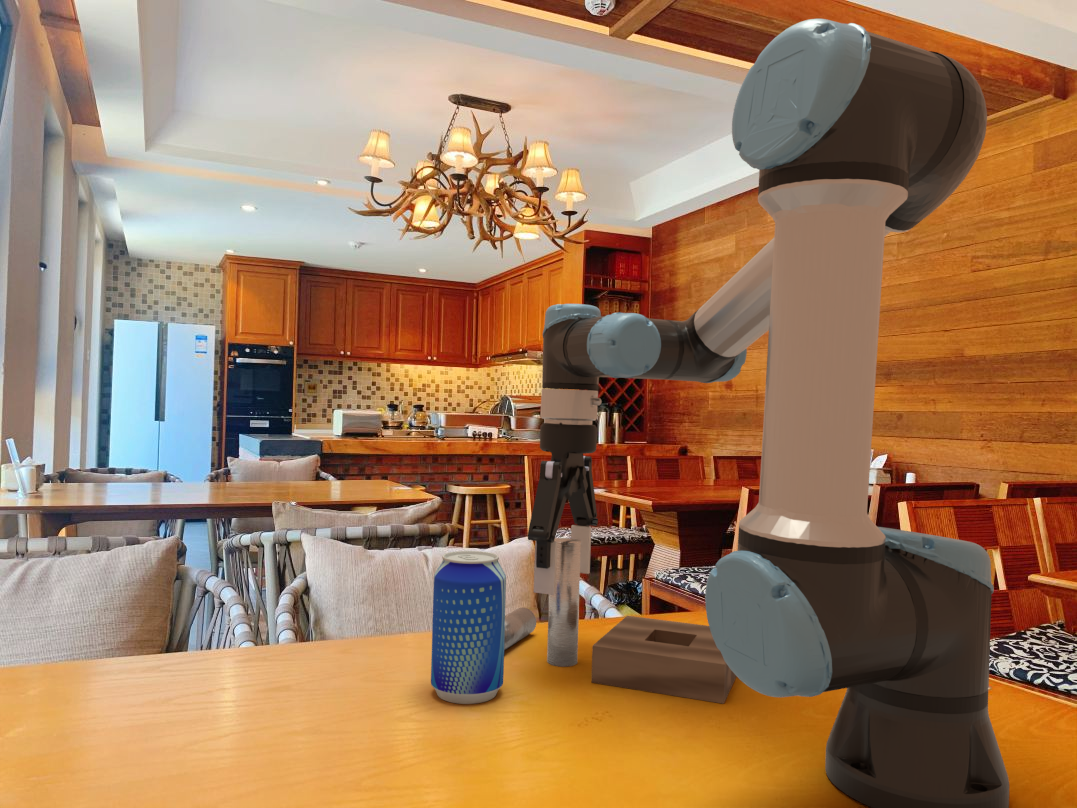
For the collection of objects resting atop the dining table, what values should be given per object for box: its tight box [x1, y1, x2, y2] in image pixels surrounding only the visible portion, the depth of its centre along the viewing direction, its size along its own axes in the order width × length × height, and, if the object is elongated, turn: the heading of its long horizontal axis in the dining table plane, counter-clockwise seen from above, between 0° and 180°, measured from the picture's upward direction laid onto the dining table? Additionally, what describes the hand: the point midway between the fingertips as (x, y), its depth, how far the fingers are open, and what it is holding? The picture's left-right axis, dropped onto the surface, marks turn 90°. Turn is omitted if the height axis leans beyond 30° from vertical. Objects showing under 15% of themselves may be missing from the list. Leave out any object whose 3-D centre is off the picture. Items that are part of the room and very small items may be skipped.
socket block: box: [591, 615, 737, 705], centre depth 103 cm, size 16×16×4 cm
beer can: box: [430, 550, 507, 705], centre depth 93 cm, size 8×8×16 cm
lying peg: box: [504, 607, 537, 651], centre depth 113 cm, size 12×4×4 cm
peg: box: [546, 537, 581, 667], centre depth 106 cm, size 4×4×16 cm
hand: (563, 582), depth 106 cm, fingers open, 13 cm apart
